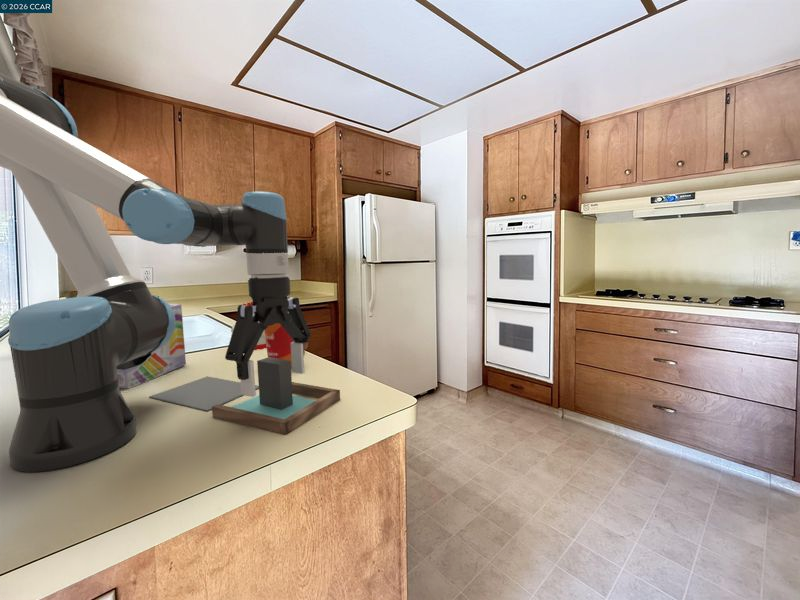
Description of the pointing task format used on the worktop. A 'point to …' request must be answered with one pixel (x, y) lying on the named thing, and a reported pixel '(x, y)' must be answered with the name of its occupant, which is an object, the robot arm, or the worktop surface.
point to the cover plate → (272, 411)
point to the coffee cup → (278, 342)
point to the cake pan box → (156, 358)
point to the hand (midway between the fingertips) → (275, 383)
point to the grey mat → (202, 393)
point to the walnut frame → (278, 424)
